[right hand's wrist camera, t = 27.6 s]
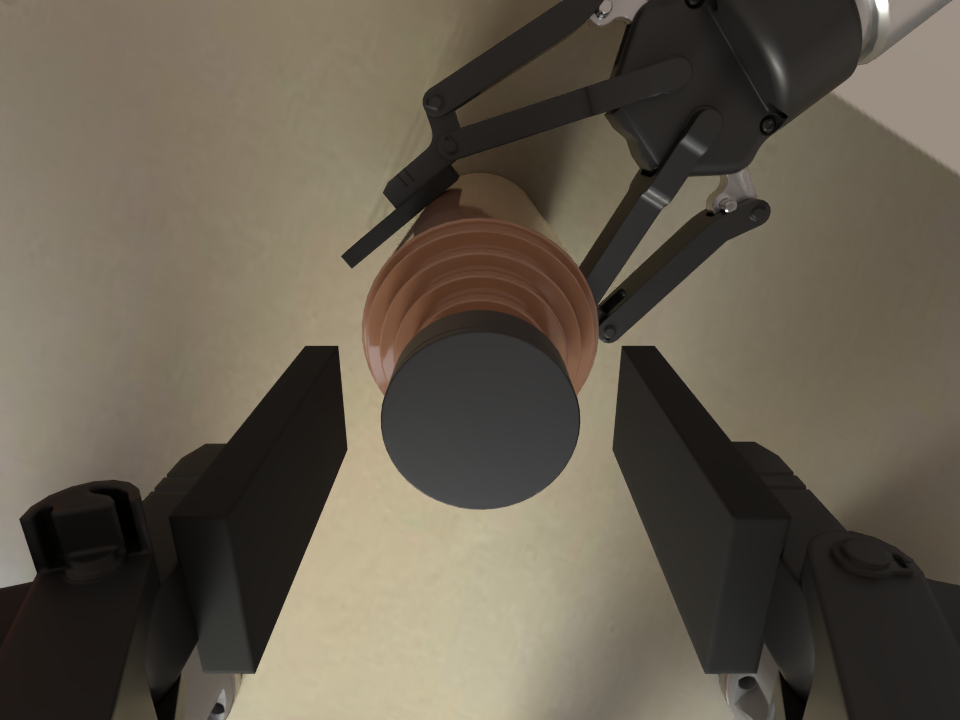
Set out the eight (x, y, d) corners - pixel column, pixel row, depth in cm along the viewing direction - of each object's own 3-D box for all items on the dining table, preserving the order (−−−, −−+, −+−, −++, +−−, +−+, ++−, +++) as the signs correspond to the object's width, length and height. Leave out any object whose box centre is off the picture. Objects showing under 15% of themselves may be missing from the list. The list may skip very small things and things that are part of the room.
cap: (383, 311, 14) (371, 334, 12) (572, 305, 14) (583, 328, 12) (398, 474, 15) (389, 512, 14) (567, 470, 15) (577, 508, 14)
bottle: (425, 165, 35) (325, 231, 12) (549, 180, 35) (672, 273, 13) (415, 287, 37) (317, 524, 15) (530, 301, 37) (605, 553, 15)
